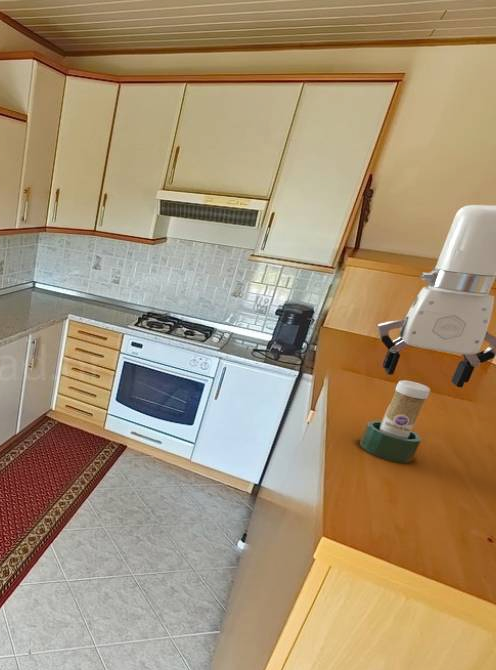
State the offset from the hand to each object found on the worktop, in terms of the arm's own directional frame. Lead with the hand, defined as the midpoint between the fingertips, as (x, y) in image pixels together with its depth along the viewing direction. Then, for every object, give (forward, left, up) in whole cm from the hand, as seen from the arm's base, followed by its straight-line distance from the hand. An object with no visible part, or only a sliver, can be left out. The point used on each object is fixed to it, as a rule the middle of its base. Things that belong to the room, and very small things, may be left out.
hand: (421, 378), depth 87 cm
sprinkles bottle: (+1, 0, -15) cm, 15 cm away
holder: (+1, 0, -15) cm, 15 cm away
